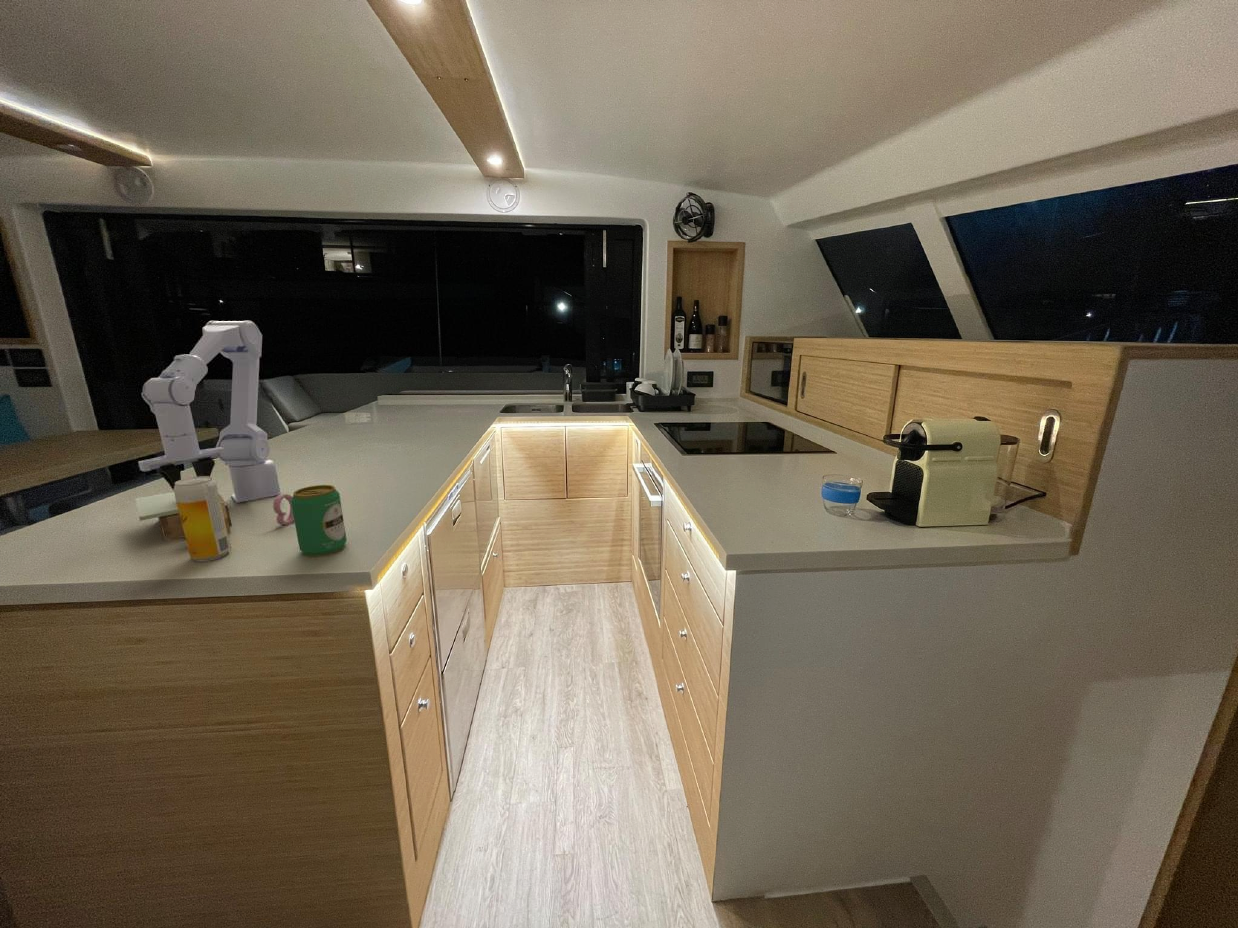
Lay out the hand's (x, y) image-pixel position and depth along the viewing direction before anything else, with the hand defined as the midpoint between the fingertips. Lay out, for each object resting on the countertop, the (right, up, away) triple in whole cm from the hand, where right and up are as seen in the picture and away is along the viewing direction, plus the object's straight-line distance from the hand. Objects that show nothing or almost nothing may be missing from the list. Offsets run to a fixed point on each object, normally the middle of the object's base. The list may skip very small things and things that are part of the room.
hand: (192, 494), depth 110 cm
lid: (-2, -2, -2) cm, 4 cm away
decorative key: (+21, -5, +8) cm, 23 cm away
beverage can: (+36, -10, -12) cm, 40 cm away
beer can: (+17, -11, -15) cm, 25 cm away
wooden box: (-1, -6, +1) cm, 6 cm away
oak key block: (+10, -8, -6) cm, 14 cm away
